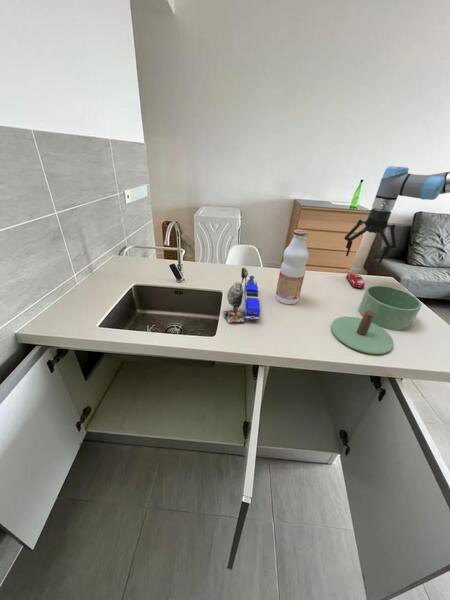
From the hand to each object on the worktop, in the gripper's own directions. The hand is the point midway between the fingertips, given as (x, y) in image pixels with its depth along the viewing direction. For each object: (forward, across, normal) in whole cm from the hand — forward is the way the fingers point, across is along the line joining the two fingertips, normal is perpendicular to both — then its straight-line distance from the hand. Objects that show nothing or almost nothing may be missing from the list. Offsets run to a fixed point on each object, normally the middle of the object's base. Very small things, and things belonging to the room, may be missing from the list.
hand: (362, 258), depth 110 cm
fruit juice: (+13, -25, -32) cm, 42 cm away
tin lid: (+12, +3, -43) cm, 45 cm away
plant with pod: (+13, -39, -54) cm, 68 cm away
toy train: (+10, -37, -42) cm, 57 cm away
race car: (+12, 0, 0) cm, 13 cm away
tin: (+12, +11, -25) cm, 30 cm away
